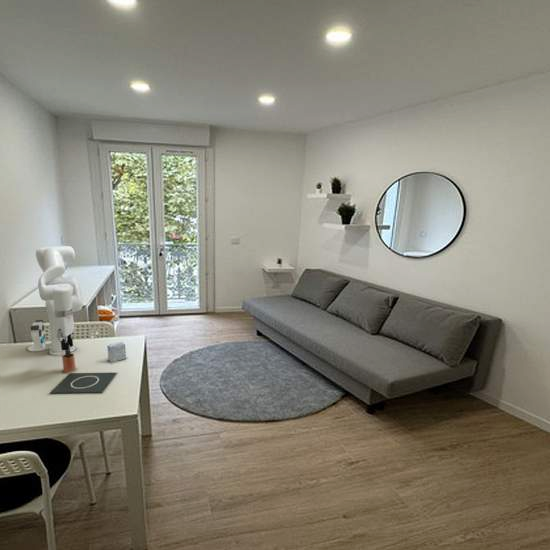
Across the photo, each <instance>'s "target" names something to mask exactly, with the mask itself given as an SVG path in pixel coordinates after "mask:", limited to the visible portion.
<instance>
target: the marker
mask: <svg viewBox="0 0 550 550" xmlns="http://www.w3.org/2000/svg"><path fill="white" fill-rule="evenodd" d="M71 354H72V352H71V353H70V345H69V350H65V354H64V355H66V358H68V357H71Z"/></svg>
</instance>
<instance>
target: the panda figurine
mask: <svg viewBox="0 0 550 550" xmlns="http://www.w3.org/2000/svg"><path fill="white" fill-rule="evenodd" d="M30 336H31V339H32V341H33V344H32V345H30V346H28V347H27V351H29V352H40V351H45V350H47V349H49V348H45V344H51V343H50V342H45V338H46V334H45V325H44V319H35V320H34V322H33V323H32V324H31V325H30Z"/></svg>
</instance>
